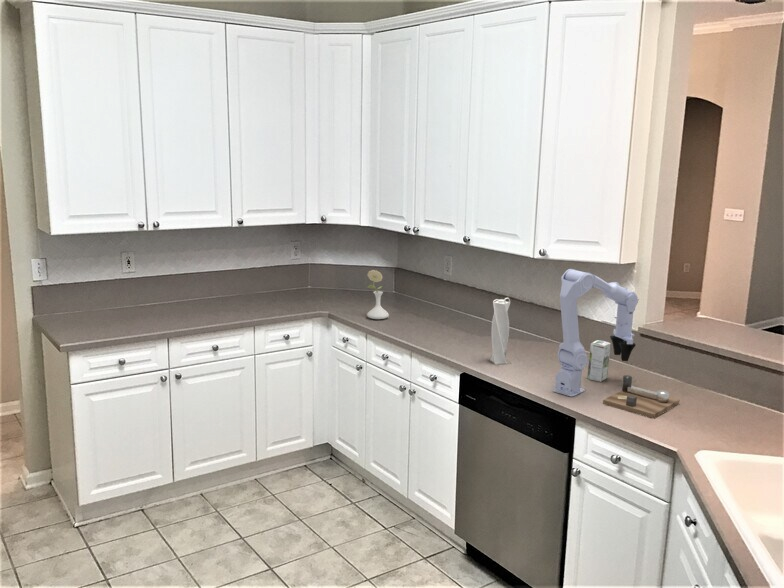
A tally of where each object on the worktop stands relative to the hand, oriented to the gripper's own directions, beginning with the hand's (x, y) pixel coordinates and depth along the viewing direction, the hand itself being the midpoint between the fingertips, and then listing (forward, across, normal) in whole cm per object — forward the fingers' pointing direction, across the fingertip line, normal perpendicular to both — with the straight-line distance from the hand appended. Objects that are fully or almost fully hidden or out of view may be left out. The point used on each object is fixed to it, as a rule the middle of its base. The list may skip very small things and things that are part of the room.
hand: (620, 357), depth 251 cm
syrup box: (+10, +4, +7) cm, 13 cm away
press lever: (+8, -19, -2) cm, 21 cm away
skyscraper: (+10, +24, +41) cm, 49 cm away
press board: (+10, -22, 0) cm, 24 cm away
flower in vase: (+10, +98, +90) cm, 134 cm away
